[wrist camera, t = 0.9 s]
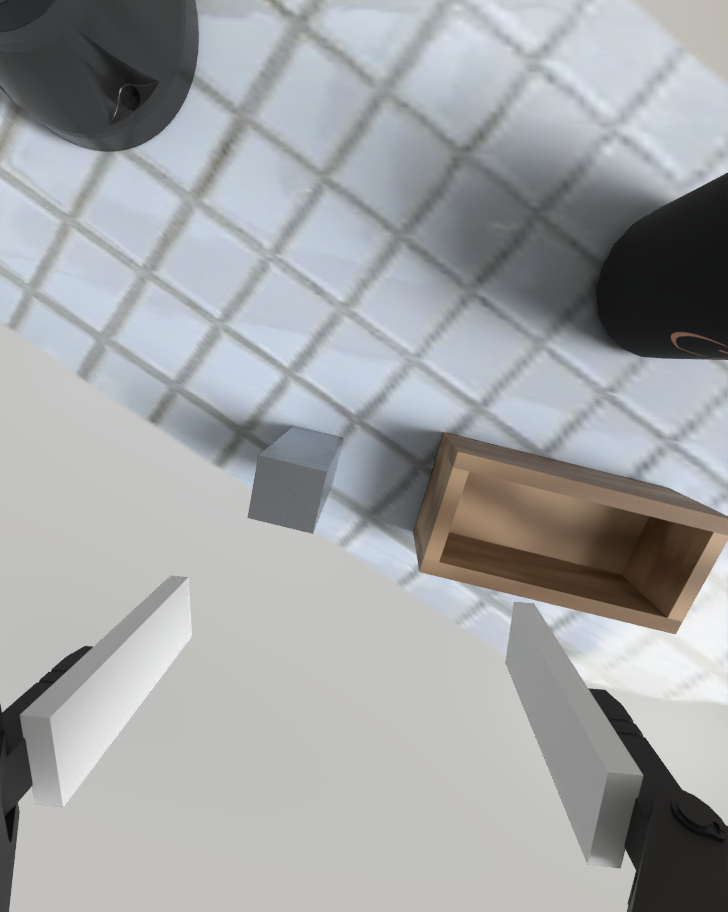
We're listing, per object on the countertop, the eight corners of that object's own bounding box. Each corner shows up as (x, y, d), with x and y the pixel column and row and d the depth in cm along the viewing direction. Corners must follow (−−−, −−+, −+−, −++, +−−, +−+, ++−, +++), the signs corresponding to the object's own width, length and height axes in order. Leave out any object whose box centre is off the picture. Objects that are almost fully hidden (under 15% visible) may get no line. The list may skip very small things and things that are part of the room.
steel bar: (293, 425, 34) (258, 454, 25) (343, 438, 34) (326, 471, 25) (284, 472, 35) (247, 517, 26) (332, 484, 36) (312, 533, 26)
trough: (443, 432, 34) (458, 451, 27) (670, 488, 34) (738, 521, 27) (413, 532, 36) (419, 571, 30) (623, 583, 37) (675, 634, 30)
